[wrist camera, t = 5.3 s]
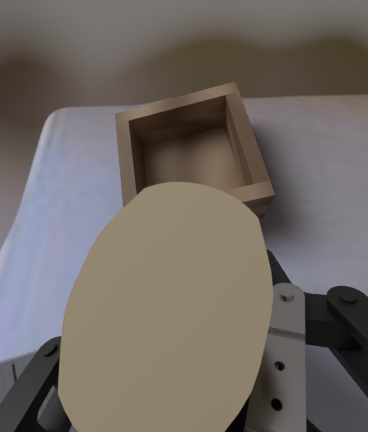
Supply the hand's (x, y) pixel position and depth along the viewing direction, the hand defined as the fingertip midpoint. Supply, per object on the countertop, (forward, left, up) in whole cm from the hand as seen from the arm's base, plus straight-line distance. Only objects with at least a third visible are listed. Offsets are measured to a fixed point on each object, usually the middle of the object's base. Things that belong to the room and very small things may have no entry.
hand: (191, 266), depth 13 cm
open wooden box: (-1, -10, -7) cm, 12 cm away
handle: (0, +2, -7) cm, 8 cm away
